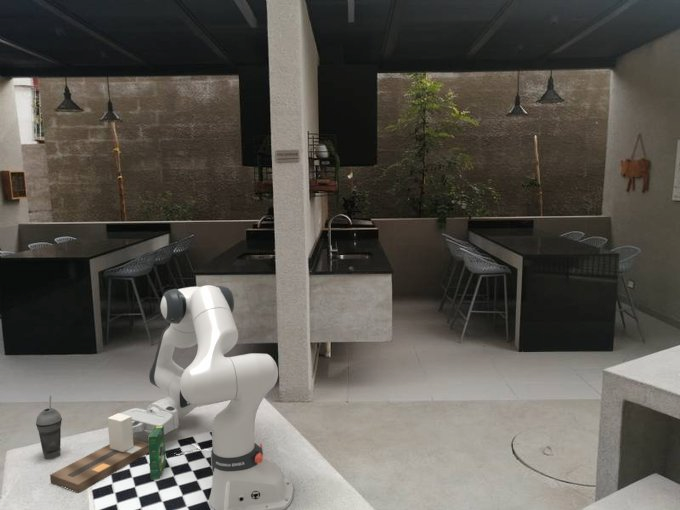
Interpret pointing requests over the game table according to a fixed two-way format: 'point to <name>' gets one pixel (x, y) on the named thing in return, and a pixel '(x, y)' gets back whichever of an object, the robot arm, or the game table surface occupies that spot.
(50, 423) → the beverage cup
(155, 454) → the coffee box
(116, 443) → the switch tab
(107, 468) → the switch board
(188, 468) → the game table surface
